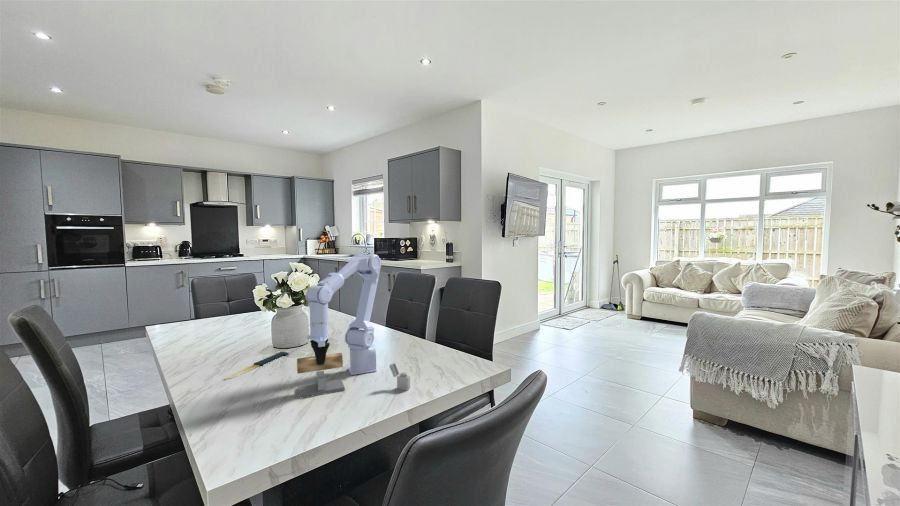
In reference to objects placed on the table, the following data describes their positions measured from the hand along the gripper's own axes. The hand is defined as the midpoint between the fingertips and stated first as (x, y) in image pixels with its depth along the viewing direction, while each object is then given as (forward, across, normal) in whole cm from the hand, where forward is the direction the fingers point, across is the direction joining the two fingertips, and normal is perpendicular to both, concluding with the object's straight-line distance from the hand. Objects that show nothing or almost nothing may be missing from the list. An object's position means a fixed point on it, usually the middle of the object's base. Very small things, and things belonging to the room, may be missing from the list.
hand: (320, 362), depth 122 cm
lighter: (+9, +10, +24) cm, 28 cm away
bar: (+2, 0, 0) cm, 2 cm away
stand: (+9, 0, 0) cm, 9 cm away
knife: (+10, -34, -21) cm, 41 cm away
